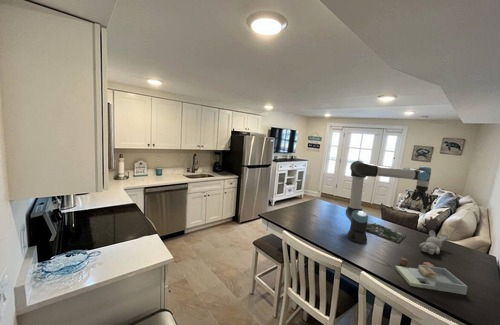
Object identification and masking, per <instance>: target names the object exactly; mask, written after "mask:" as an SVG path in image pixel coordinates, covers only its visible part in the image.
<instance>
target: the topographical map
mask: <svg viewBox="0 0 500 325" xmlns="http://www.w3.org/2000/svg"><path fill="white" fill-rule="evenodd" d="M366 233H369V234H373V236H374V235H375V236H376V237H380V238H383V239H386V240H388V241H391V242H394V243H397V244H400V243H402V241H403V240H404V239H405V238H406V237H407V234H404V233H402V232H399V231H396V230H393V229H392V228H388V227H385V226H384V225H381V224H378V223H373V222H372V223H371V222H367V228H366Z"/></svg>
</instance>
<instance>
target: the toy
mask: <svg viewBox="0 0 500 325" xmlns="http://www.w3.org/2000/svg"><path fill="white" fill-rule="evenodd" d="M428 236H429V237H428V238H426V241H425V242H422V243H420V244H419V245H418V247H419V248H421V250H422V252H425V253H428V254H429V255H434V254H437V255H439V254H440V253H441V252H440V251H441V248H442V246H443V242H445V241H447V240H448V238H449V236H448V234H447V233H446V234H442V235H441V236H440V237H439V238H438V237H436V232H435V230H433V229H431V230H429V232H428Z"/></svg>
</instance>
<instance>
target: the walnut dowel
mask: <svg viewBox="0 0 500 325" xmlns="http://www.w3.org/2000/svg"><path fill="white" fill-rule="evenodd" d="M399 261H400V262H399V266H401V267H408V265H409V260H408V259H407V258H405V257H400V260H399Z"/></svg>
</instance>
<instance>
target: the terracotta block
mask: <svg viewBox="0 0 500 325" xmlns="http://www.w3.org/2000/svg"><path fill="white" fill-rule="evenodd" d="M422 265H425V266H432V267H435V265H434V264H432V263H431V262H429V261H426V262H423V263H422Z"/></svg>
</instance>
